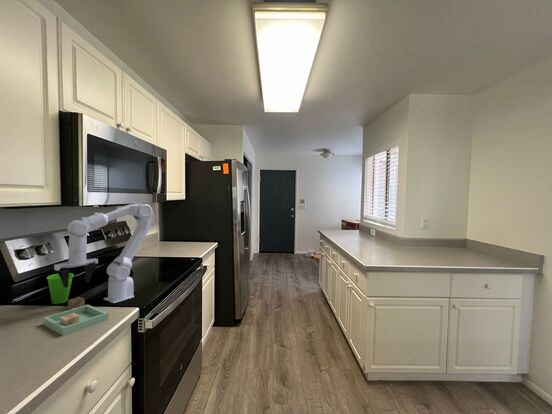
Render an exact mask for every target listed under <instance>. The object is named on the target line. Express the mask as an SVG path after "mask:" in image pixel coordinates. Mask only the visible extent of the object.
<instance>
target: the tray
mask: <svg viewBox="0 0 552 414" xmlns="http://www.w3.org/2000/svg"><path fill="white" fill-rule="evenodd" d="M72 313H74V314H77V315H79V322H77V323H74V324H71V325H68V326H64V325H62V324H60V317H62V316H65V315H69V314H72ZM42 319H43V321H42V323H43V324H42V325H43V326H45V327H47V328H48V329H50V330H51V331H54V332H55V333H57V334H59V335H61V336H62V337H65V336H67V335H70V334H72V333H75V332H78V331H81V330H83V329H87V328H89V327H92V326H95V325H97V324H100V323H103V322H106V321H108V320H109V312H106V311H104V310H101V309H100V308H98V307H96V306H92V305H91V304H85V306H81V307H78V308H74V309H68V310H65V311H62V312H58V313H55V314H51V315H48V316H44V317H43V318H42Z"/></svg>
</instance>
